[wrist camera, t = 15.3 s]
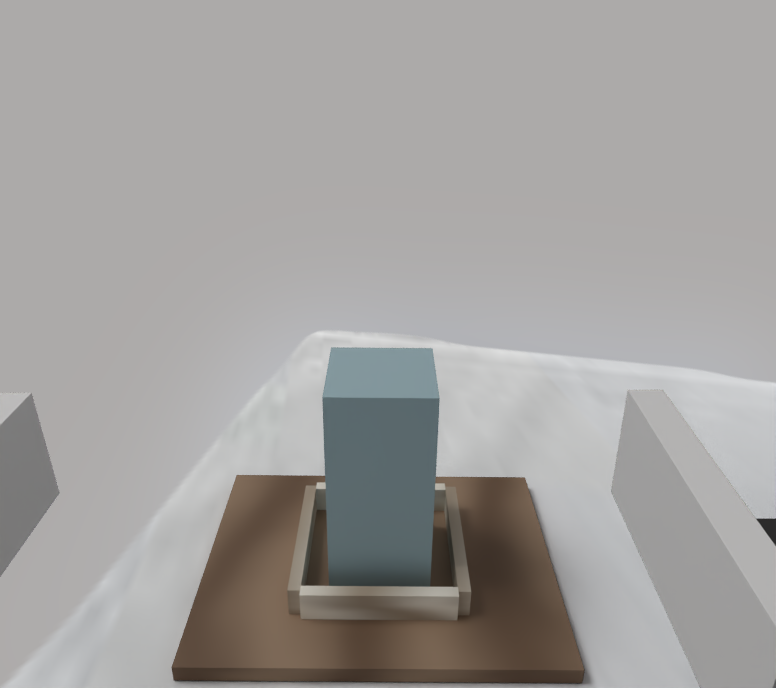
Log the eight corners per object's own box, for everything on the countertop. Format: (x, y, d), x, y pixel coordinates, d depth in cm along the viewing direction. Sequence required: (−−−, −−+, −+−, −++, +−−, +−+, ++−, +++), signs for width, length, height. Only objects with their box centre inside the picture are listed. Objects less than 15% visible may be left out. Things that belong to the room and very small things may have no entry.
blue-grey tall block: (424, 524, 38) (432, 348, 33) (429, 591, 33) (439, 398, 29) (336, 524, 38) (331, 347, 33) (329, 591, 33) (322, 397, 29)
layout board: (523, 488, 42) (527, 457, 41) (582, 683, 30) (589, 645, 29) (237, 485, 42) (234, 454, 41) (174, 680, 30) (167, 642, 29)
